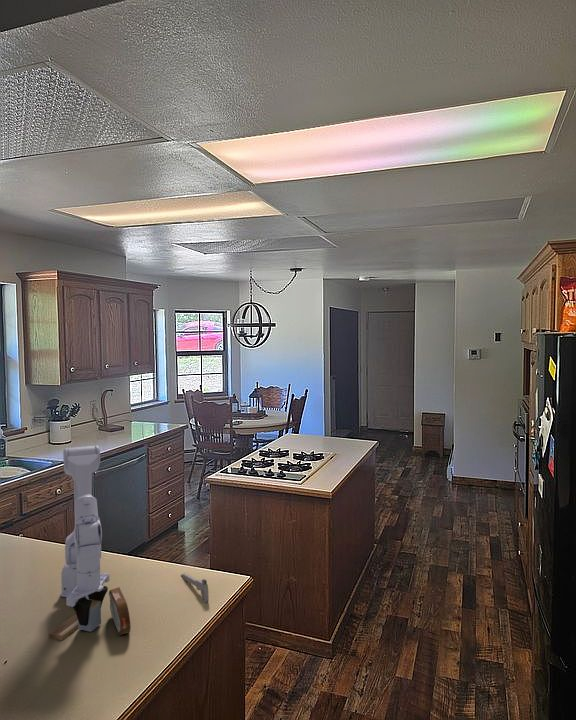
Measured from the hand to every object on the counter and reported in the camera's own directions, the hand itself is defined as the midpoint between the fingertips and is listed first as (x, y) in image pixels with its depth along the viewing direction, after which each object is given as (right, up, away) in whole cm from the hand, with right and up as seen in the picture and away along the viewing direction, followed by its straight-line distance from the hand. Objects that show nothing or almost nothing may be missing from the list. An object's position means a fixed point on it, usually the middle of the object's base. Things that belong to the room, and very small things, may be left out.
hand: (89, 620), depth 135 cm
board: (-5, -2, +2) cm, 5 cm away
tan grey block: (0, -2, 0) cm, 2 cm away
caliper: (+23, -2, +22) cm, 32 cm away
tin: (+7, -2, +1) cm, 8 cm away
